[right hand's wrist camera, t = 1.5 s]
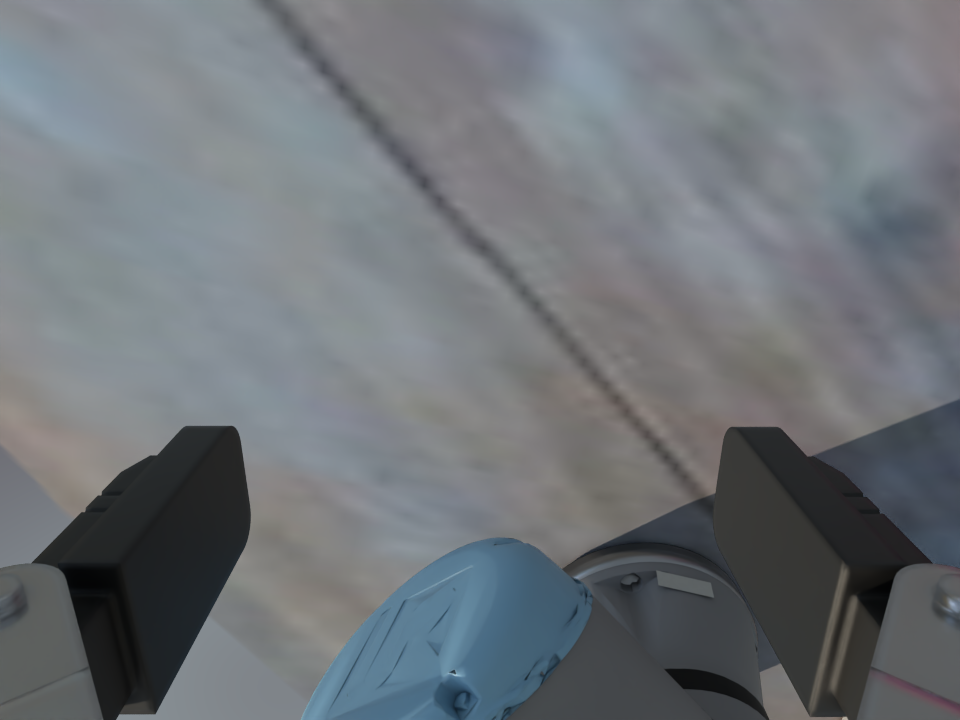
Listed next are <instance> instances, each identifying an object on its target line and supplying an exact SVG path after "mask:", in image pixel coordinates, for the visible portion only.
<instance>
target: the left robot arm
mask: <svg viewBox="0 0 960 720" xmlns="http://www.w3.org/2000/svg"><path fill="white" fill-rule="evenodd" d="M301 720H769V718H768V716H767V714H766V711H765V709H764V707H763V699H762V690H761V682H760V673H759V666H758V636H757V630H756V626H755V622H754V619H753V617H752V615H751V612H750V611H749V609H748V607H747V605H746V603H745V601H744V599H743V598H742V596H741V594H740V592H739V590H738V589H737V587H736V585H735V584H734V583H733V581H732V580H731V579H730V577H729V576H728V575H727V574H726V573H725V572H724V571H723V570H721V569H720V568H719V567H718V566H717V565H715V564H714V563H712V562H711V561H709V560H708V559H706V558H704V557H702V556H701V555H699V554H696V553H694V552H691V551H689V550H686V549H683V548H679V547H675V546H671V545H665V544H657V543H632V544H623V545H618V546H613V547H608V548H605V549H602V550H598V551H596V552H593V553H590V554H588V555H586V556H584V557H582V558H579V559H577V560H576V561H574V562H572V563H571V564H569V565H567V566H566V567H565V568H563V569H561V568H560V567H559V566H557V565H556V564H555V563H554V562H553V561H552V560H551V559H549V558H548V557H547V556H546V555H545V554H544V553H542V552H541V551H540V550H539V549H537V548H536V547H534V546H532V545H530V544H525V543H523V542H521V541H519V540H516V539H512V538H490V539H485V540H481V541H477V542H473V543H470V544H467V545H465V546H463V547H460V548H458V549H456V550H454V551H452V552H450V553H448V554H446V555H445V556H443V557H441V558H439V559H438V560H436V561H435V562H433V563H431V564H430V565H428V566H427V567H425V568H424V569H423V570H421V571H420V572H418V573H417V574H416V575H415V576H413V577H412V578H411V579H409V580H408V581H407V582H406V583H404V584H403V585H402V586H401V587H400V588H399V589H397V590H396V591H395V592H394V593H393V594H392V595H391V596H390V597H389V598H388V599H387V600H386V601H385V602H384V603H383V604H382V605H381V606H380V607H379V608H378V609H376V610H375V612H374V613H373V614H372V615H371V616H370V617H369V618H368V619H367V620H366V621H365V622H364V623H363V624H362V625H361V627H360V628H359V629H358V630H357V631H356V632H355V634H354V635H353V636H352V637H351V638H350V640H349V641H348V642H347V643H346V645H345V646H344V647H343V649H342V650H341V651H340V653H339V654H338V655H337V657H336V658H335V660H334V661H333V663H332V664H331V666H330V667H329V669H328V670H327V672H326V673H325V675H324V677H323V678H322V680H321V681H320V683H319V685H318V686H317V688H316V690H315V691H314V693H313V695H312V697H311V699H310V701H309V703H308V705H307V707H306V709H305V711H304V714H303V716H302V719H301Z"/></svg>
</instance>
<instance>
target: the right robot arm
mask: <svg viewBox="0 0 960 720" xmlns="http://www.w3.org/2000/svg"><path fill="white" fill-rule="evenodd" d="M250 521H251V512H250V503H249V496H248V489H247V482H246V475H245V468H244V461H243V454H242V447H241V441H240V436H239V433H238V431H237V429H236V428H235V427H233V426H185V427H184V428H182V429H181V430H180V431H179V433H178V434H177V435H176V436H175V437H174V438H173V439H172V440H171V441H170V442H169V443H168V444H167V445H166V447H165V448H164V449H163V450H162V451H161V452H160V453H159V454H158V455H157V456H149V457H147V458H145V459H143V460H142V461H140V462H138V463H136V464H135V465H133V466H131V467H129V468H128V469H126V470H124V471H122V472H121V473H120V474H119V475H118V476H117V477H116V478H115V479H114V480H113V481H112V482H111V483H110V484H109V485H108V486H107V487H106V488H105V489H104V490H103V491H102V495H101V496H97V497H96V498H95V499H94V500H93V501H92V502H91V503H90V504H89V505H88V506H87V507H86V511H85V512H81V513H80V514H79V515H78V516H77V517H76V518H75V519H74V520H73V521H72V522H71V524H70V525H69V526H68V527H67V528H66V529H65V530H64V531H63V532H62V533H61V534H60V535H59V536H58V537H57V538H56V539H55V540H54V541H53V542H52V543H51V544H50V545H49V546H48V547H47V548H46V549H45V550H44V551H43V552H42V553H41V554H40V555H39V556H38V557H37V558H36V559H35V560H34V561H33V562H32V563H31V564H19V565H13V566H8V567H3V568H0V720H116V719H117V717H118V715H119V714H156V712H157V710H158V708H159V706H160V705H161V703H162V701H163V699H164V697H165V695H166V693H167V692H168V690H169V688H170V686H171V684H172V682H173V680H174V678H175V677H176V675H177V673H178V671H179V669H180V667H181V665H182V664H183V662H184V660H185V658H186V656H187V654H188V652H189V650H190V648H191V647H192V645H193V643H194V641H195V639H196V637H197V635H198V634H199V632H200V630H201V628H202V626H203V624H204V622H205V621H206V619H207V617H208V615H209V613H210V611H211V609H212V607H213V606H214V604H215V602H216V600H217V598H218V596H219V594H220V593H221V591H222V589H223V587H224V585H225V583H226V581H227V579H228V578H229V576H230V574H231V572H232V570H233V568H234V566H235V565H236V563H237V561H238V559H239V557H240V555H241V553H242V551H243V550H244V548H245V545H246V543H247V539H248V535H249V530H250ZM713 528H714V534H715V539H716V542H717V545H718V548H719V550H720V552H721V553H722V555H723V557H724V559H725V561H726V563H727V565H728V566H729V568H730V570H731V572H732V574H733V576H734V577H735V579H736V581H737V583H738V585H739V587H740V589H741V590H742V592H743V594H744V596H745V598H746V600H747V601H748V603H749V605H750V607H751V609H752V611H753V613H754V614H755V616H756V618H757V620H758V622H759V624H760V625H761V627H762V629H763V631H764V633H765V635H766V636H767V638H768V640H769V642H770V644H771V646H772V648H773V649H774V651H775V653H776V655H777V657H778V659H779V660H780V662H781V664H782V666H783V668H784V670H785V672H786V673H787V675H788V677H789V679H790V681H791V683H792V684H793V686H794V688H795V690H796V692H797V694H798V696H799V697H800V699H801V701H802V703H803V705H804V707H805V708H806V710H807V712H808V714H809V716H810V717H847V718H848V720H960V568H957V567H952V566H947V565H941V564H933V563H932V562H931V561H930V560H929V559H928V558H927V557H926V556H925V555H924V554H923V553H922V552H921V551H920V550H919V549H918V548H917V547H916V546H915V545H914V544H913V543H912V542H911V541H910V540H909V539H908V538H907V537H906V536H905V535H904V534H903V533H902V532H901V531H900V530H899V529H898V528H897V527H896V526H895V525H894V524H893V523H892V522H891V521H890V520H889V519H888V518H887V517H886V516H885V515H884V514H880V513H879V509H878V508H877V507H876V506H875V505H874V504H873V503H872V502H871V501H870V500H869V499H868V498H867V497H863V493H862V492H861V491H860V490H859V489H858V488H857V487H856V486H855V485H854V484H853V483H852V482H851V481H850V480H849V479H848V478H847V477H846V476H845V475H844V474H843V473H842V472H840V471H838V470H836V469H835V468H833V467H831V466H829V465H828V464H826V463H824V462H822V461H821V460H819V459H817V458H815V457H807V456H806V455H805V454H804V453H803V452H802V450H801V449H800V448H799V447H798V446H797V445H796V444H795V443H794V442H793V441H792V440H791V439H790V438H789V437H788V436H787V434H786V433H785V432H784V431H783V430H782V429H780V428H778V427H730V428H729V429H728V430H727V432H726V434H725V436H724V440H723V446H722V453H721V460H720V466H719V473H718V480H717V487H716V494H715V501H714V508H713Z"/></svg>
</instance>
